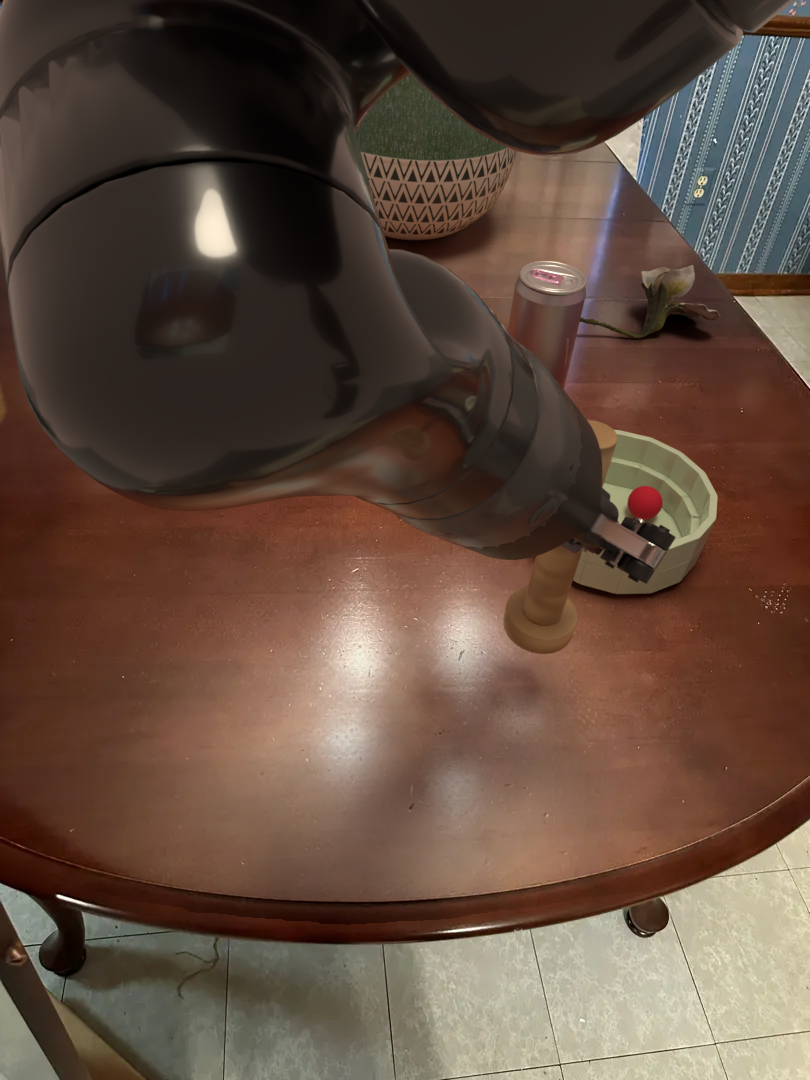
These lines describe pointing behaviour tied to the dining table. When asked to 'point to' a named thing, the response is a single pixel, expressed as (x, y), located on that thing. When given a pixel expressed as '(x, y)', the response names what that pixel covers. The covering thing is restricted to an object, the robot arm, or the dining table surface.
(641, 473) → the bowl
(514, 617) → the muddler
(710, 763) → the dining table surface
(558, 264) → the beverage can
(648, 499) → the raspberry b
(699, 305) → the artificial flower
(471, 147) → the planter
